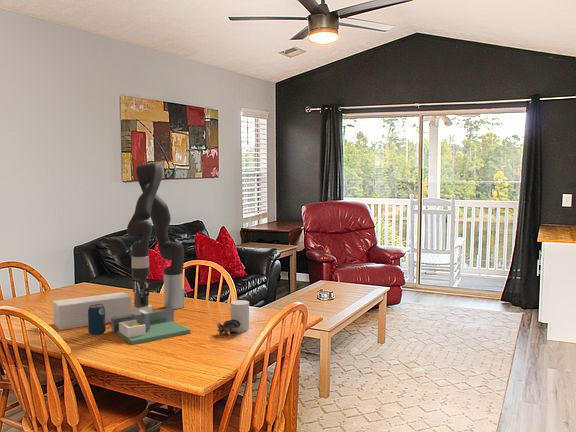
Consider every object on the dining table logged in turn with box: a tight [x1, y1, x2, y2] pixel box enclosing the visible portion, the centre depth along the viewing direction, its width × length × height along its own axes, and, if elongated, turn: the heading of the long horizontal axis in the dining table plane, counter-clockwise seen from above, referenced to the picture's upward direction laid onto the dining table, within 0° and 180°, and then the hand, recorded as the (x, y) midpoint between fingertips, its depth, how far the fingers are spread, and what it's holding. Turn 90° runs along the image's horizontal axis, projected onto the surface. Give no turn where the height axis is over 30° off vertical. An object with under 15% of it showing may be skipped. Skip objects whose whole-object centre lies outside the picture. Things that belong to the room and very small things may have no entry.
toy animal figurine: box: [216, 319, 241, 337], centre depth 235 cm, size 8×7×9 cm
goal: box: [119, 320, 146, 338], centre depth 230 cm, size 8×10×4 cm
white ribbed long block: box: [52, 291, 132, 330], centre depth 253 cm, size 32×11×11 cm, turn 125°
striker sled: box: [131, 292, 153, 331], centre depth 240 cm, size 8×16×13 cm, turn 38°
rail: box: [110, 308, 175, 334], centre depth 245 cm, size 28×3×6 cm, turn 128°
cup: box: [230, 299, 250, 333], centre depth 242 cm, size 8×8×12 cm
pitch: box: [116, 320, 191, 346], centre depth 234 cm, size 26×16×2 cm, turn 128°
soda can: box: [87, 304, 107, 337], centre depth 234 cm, size 7×7×12 cm
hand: (141, 303), depth 244 cm, fingers open, 5 cm apart
